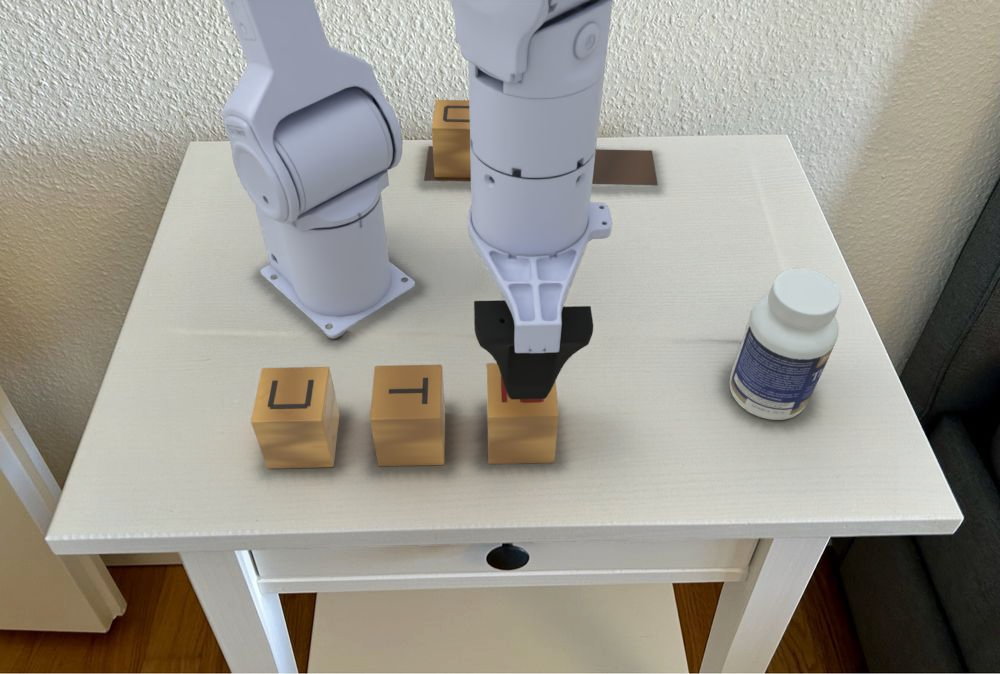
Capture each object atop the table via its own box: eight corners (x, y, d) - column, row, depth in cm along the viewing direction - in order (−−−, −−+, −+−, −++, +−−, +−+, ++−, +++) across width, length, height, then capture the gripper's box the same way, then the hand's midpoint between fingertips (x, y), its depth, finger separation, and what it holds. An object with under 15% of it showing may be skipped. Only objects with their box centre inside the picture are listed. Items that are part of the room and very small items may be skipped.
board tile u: (434, 177, 73) (431, 127, 69) (438, 148, 75) (435, 98, 72) (483, 178, 72) (483, 128, 69) (485, 149, 75) (484, 99, 72)
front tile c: (267, 469, 53) (250, 421, 50) (276, 415, 56) (261, 366, 52) (333, 467, 54) (322, 420, 50) (340, 414, 56) (329, 365, 53)
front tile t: (378, 466, 54) (369, 419, 50) (382, 413, 56) (374, 364, 53) (444, 465, 54) (440, 418, 50) (445, 412, 57) (442, 363, 53)
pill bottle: (809, 429, 56) (857, 329, 49) (727, 415, 57) (761, 315, 49) (806, 367, 59) (850, 266, 52) (728, 355, 60) (761, 254, 53)
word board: (424, 185, 73) (423, 180, 72) (428, 151, 76) (428, 145, 76) (656, 190, 73) (658, 185, 72) (651, 155, 76) (652, 150, 75)
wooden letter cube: (488, 464, 54) (488, 417, 50) (487, 411, 57) (486, 362, 53) (554, 462, 54) (558, 415, 50) (549, 410, 57) (553, 361, 53)
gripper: (644, 247, 33) (608, 444, 44) (603, 56, 43) (581, 253, 53) (466, 250, 33) (471, 447, 43) (464, 57, 43) (469, 255, 53)
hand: (524, 341), depth 48 cm, fingers open, 7 cm apart
